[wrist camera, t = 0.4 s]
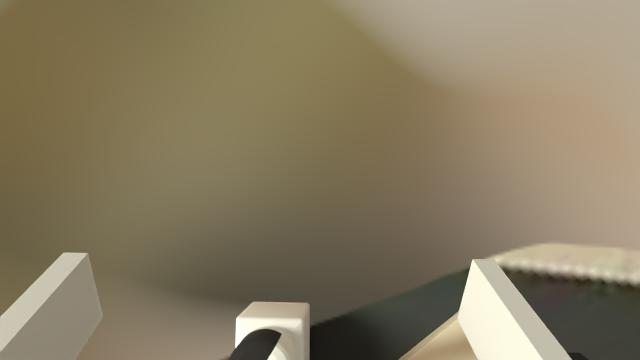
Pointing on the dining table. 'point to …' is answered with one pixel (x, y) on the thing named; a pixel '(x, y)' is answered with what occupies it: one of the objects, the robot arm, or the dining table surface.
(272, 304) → the medicine bottle
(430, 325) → the dining table surface
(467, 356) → the birch board
